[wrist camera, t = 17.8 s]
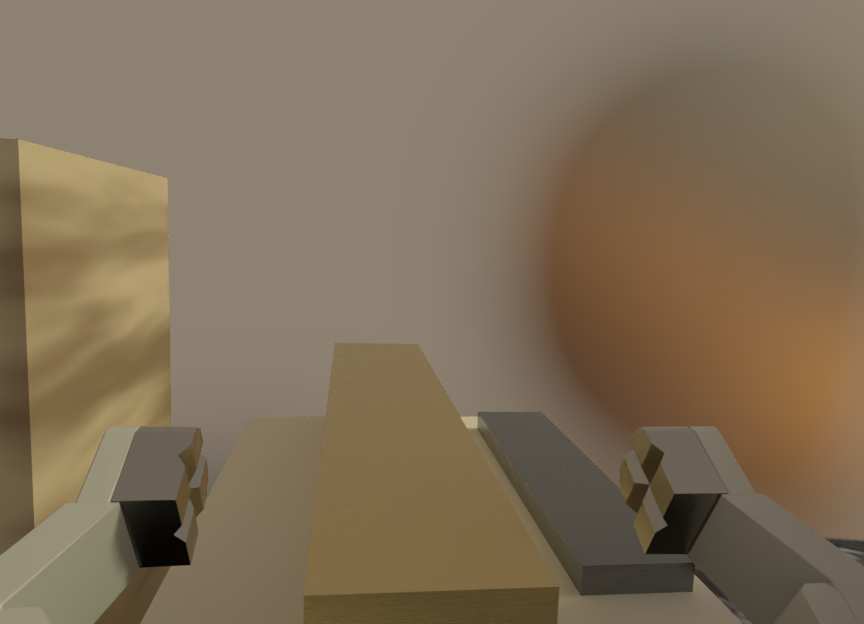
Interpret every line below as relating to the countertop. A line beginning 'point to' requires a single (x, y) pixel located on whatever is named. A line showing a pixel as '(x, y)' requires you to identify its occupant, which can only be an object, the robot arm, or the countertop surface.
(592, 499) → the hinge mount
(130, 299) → the birch stand
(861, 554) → the countertop surface
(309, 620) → the tan wooden bar
